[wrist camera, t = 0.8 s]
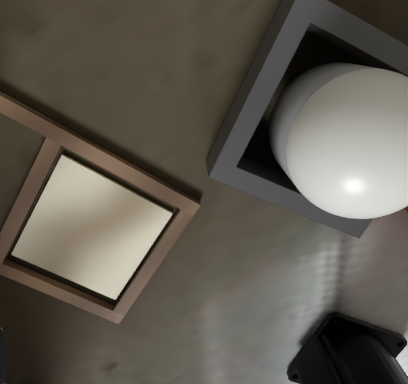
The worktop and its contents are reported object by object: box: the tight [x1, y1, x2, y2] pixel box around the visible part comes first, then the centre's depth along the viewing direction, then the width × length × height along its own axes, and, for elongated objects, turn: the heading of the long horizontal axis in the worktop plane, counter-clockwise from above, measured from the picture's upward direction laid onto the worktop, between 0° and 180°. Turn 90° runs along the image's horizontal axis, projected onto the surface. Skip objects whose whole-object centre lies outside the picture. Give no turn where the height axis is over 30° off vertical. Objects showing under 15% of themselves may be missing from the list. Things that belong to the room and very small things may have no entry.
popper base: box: [206, 0, 408, 238], centre depth 18 cm, size 14×9×4 cm, turn 65°
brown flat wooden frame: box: [0, 91, 200, 324], centre depth 20 cm, size 17×10×1 cm, turn 57°
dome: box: [269, 62, 408, 219], centre depth 15 cm, size 6×6×6 cm
